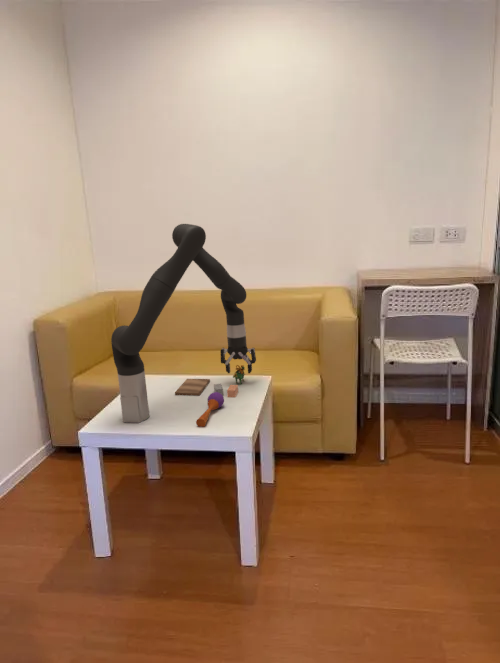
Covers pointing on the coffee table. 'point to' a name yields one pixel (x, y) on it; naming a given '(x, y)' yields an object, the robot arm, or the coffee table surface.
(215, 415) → the coffee table surface
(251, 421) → the coffee table surface
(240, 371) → the figurine
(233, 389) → the terracotta brick
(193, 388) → the walnut board
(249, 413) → the coffee table surface
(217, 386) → the slate-grey brick
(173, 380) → the coffee table surface
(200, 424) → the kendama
